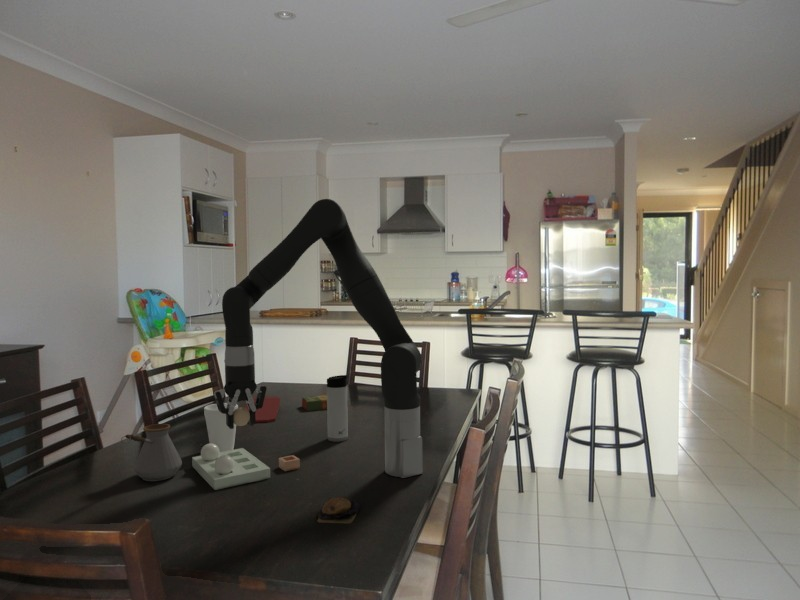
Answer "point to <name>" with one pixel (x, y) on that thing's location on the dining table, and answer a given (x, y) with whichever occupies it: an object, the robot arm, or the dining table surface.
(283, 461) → the egg cup
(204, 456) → the white egg
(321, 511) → the sandwich
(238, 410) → the brown egg
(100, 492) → the dining table surface
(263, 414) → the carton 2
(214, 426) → the foam cup
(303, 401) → the carton
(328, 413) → the travel mug
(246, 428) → the dining table surface
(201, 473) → the egg tray
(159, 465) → the coffee pot
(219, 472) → the white egg
